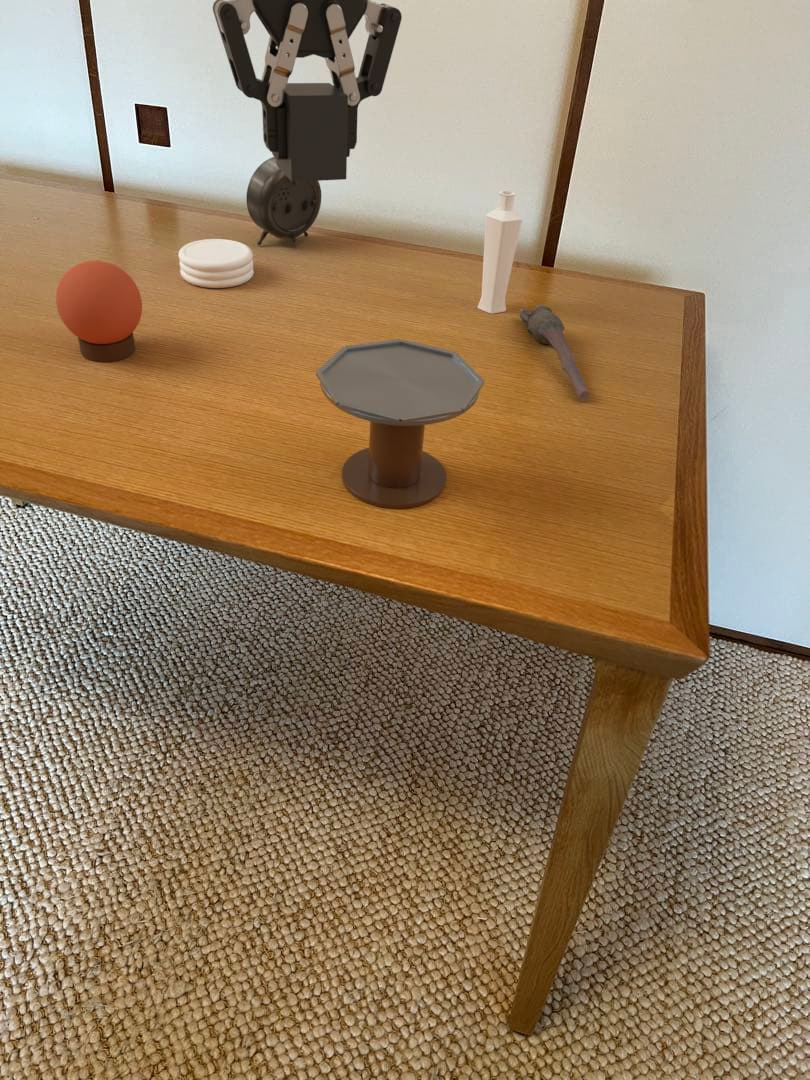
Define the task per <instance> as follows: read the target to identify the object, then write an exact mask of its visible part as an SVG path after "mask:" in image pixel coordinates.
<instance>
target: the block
mask: <svg viewBox="0 0 810 1080" xmlns="http://www.w3.org/2000/svg"><path fill="white" fill-rule="evenodd" d="M282 105H283V106H284V107H285V108H286V132H287V159H285V160H277V166H278V168H279V169H280V170H281V171H282V172H283V173H284V174H285V175H286V176H287V177H288V178H289V179H290V180H291V181H292V182H300V181H319V182H320V181H321V182H323V181H340V180H341V181H342V180H343V181H344V180H347V172H348V171H347V169H348V168H347V166H348V165H347V164H348V161H347V160H348V157H347V117H348V95H346V94H345V93H343V92H342V91H341V90H339V89H338V88H336V87H335V86H334V85H333V83H331V82H287V86H286V90H285V94H284V98H283V101H282Z"/></svg>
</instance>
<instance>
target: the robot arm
mask: <svg viewBox="0 0 810 1080" xmlns="http://www.w3.org/2000/svg"><path fill="white" fill-rule="evenodd" d="M212 12H213V15H214V19H215V22H216V25H217V28H218V32H219V35H220V38H221V41H222V44H223V47H224V51H225V54H226V58H227V59H228V60H227V61H228V63H229V64H228V65H229V66H230V67H229V68H230V71H231V74H232V76H233V80H234V84H235V86H236V88H237V89H238V90H239V91H240V92H242V93H243V94H244V96H245V97H247V98H248V99H249V98H250V99H255V100H258V101H260V103H261V108H262V109H261V111H262V112H261V113H262V132H263V134H262V136H263V137H262V138H263V139H262V140H263V142H264V145H265V147H266V149H267V150H268V151H269V152H271V154H272V157H275V158H276V159H277V160H285V159H287V132H286V108H285V107H284V106H283V105H282V101H283V98H284V94H285V90H286V86H287V83H289V78H290V77H291V76H292V74H293V71H294V67H295V63H296V59H297V58H301V59H303V58H307V57H310V56H313V55H314V56H317V57H319V58H324V60H325V61H324V62H325V64H326V66H327V68H328V71H329V73H330V77H331V81H332V85H333V86H335V87H336V88H338V89H339V90H341V91H342V92H343V93H345V94H346V95H348V117H347V158H349V157H350V155H351V150H355V148H356V145H357V143H358V111H359V110H358V108H359V105H360V104H361V102H362V101H363V100H365V99H367V98H370V97H377V96H379V95H380V94H381V93H382V91H383V87H384V84H385V80H386V76H387V73H388V69H389V65H390V63H391V58H392V56H393V51H394V48H395V44H396V41H397V38H398V33H399V30H400V27H401V22H402V18H403V16H402V12H401V11H400V9H399V8H398V7H397V8H396V7H394V6H392V5H389V4H386V3H378V2H375V1H373V0H215V1H214V2H213V5H212ZM253 13H255V14H256V16H257V18H258V19H259V21H260V22H261V24H262V25H263V27H264V28H265V31H266V32H267V33H268V35H269V39H268V43H267V47H266V48H267V49H266V52H265V56H264V67H263V72H262V77H261V79H259V78H258V77H257V75H256V72H255V69H254V66H253V62H252V57H251V55H250V51H249V48H248V45H247V41H246V38H245V35H247V34H248V33H249V31H250V29H251V21H250V19H251V15H252V14H253ZM363 17H364V18H365V24H364V28H365V31H366V33H367V34H368V37H367V41H366V44H365V48H364V53H363V56H362V61H361V64H360V68H359V72H358V76H357V77H356V73H355V70H356V67H355V61H354V58H353V54H352V49H351V46H350V41H349V40H350V38H351V37H352V35H353V32H354V31H355V29H356V28H357V26H358V25H359V23H360V21H361V20H362V18H363Z"/></svg>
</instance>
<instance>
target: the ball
mask: <svg viewBox="0 0 810 1080" xmlns="http://www.w3.org/2000/svg"><path fill="white" fill-rule="evenodd" d="M55 293H56V294H55V304H56V309H57V313H58V315H59V318H60V320H61V321H62V323H63V324H64V326H65V327H66V328H67V329H68V330H69V332H71V333H72V334H73V335H74V336H76V337H77V339H78V345H79V350H80V353H81V356H82V357H83V358H84V359H87V360H88V361H92V362H99V363H112V362H118V361H121V360H124V359H127V358H129V357H130V356H132V355H133V354H134V353H135V352H136V343H135V337H134V331H135V330H136V329H137V327H138V325H139V323H140V321H141V318H142V314H143V302H142V301H143V300H142V296H141V293H140V290H139V288H138V286H137V284H136V283H135V281H134V279H133V278H132V277H131V276H130V274H128V273H127V272H126V271H125V270H123V269H122V268H120V267H118V266H117V265H116V264H113V263H110V262H106V261H102V260H87V261H83V262H81V263H78V264H76V265H74V266H72V267H71V268H69V269H68V270H67V271H66V272H65V273H64V274H63V276H62V277H61V278H60V280H59V282H58V285H57V288H56V292H55Z"/></svg>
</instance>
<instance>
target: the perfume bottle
mask: <svg viewBox="0 0 810 1080" xmlns="http://www.w3.org/2000/svg"><path fill="white" fill-rule="evenodd" d="M516 195H517V194H516V192H515V191H513V190H508V189H507V190H506V189H501V190H499V191H498V201H497V207H496V208H494V209H492V210H491V211H489V212H488V213H486V214H485V223H484V225H485V226H484V240H483V243H484V244H483V259H482V262H483V263H482V279H481V280H482V281H481V297H480V300H479V302H478V304H477V307H476V308H477V309H479V310H481V311H483V312H485V313H488V314H492V315H493V314H497V313H504V312H507V308H506V306H507V305H506V295H507V290H508V286H509V281H510V277H511V273H512V269H513V263H514V259H515V254H516V249H517V245H518V240H519V237H520V231H521V226H522V221H523V218H522V216H521V215H520V214H519V213H518V212H517V211H516V210H515V209H514V203H515V197H516Z"/></svg>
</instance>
